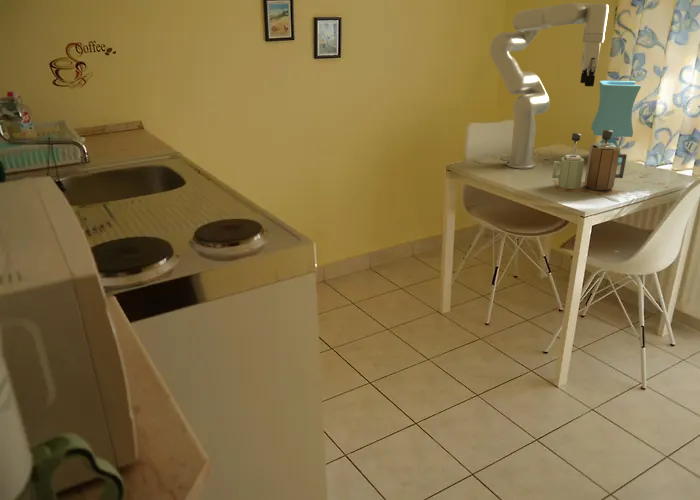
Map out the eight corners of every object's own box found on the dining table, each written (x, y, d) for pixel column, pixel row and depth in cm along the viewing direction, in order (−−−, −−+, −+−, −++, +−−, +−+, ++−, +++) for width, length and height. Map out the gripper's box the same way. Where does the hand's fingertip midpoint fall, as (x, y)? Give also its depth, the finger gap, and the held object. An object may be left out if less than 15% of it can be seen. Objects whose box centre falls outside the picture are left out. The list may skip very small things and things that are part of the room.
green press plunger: (566, 167, 223) (571, 134, 218) (564, 164, 227) (569, 132, 222) (578, 168, 222) (584, 135, 217) (577, 165, 226) (581, 132, 221)
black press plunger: (592, 184, 223) (601, 132, 214) (589, 180, 228) (597, 128, 220) (608, 185, 222) (618, 132, 213) (605, 181, 227) (614, 129, 219)
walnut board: (557, 193, 223) (558, 190, 222) (553, 183, 235) (553, 180, 235) (618, 196, 219) (618, 193, 218) (610, 186, 231) (610, 183, 231)
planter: (627, 165, 260) (641, 85, 246) (590, 163, 264) (602, 84, 250) (621, 157, 274) (635, 81, 260) (586, 155, 277) (598, 80, 264)
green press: (552, 188, 225) (556, 158, 220) (550, 182, 232) (553, 153, 228) (581, 189, 223) (585, 159, 218) (577, 183, 230) (582, 154, 226)
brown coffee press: (587, 190, 222) (594, 147, 215) (582, 183, 231) (589, 141, 224) (623, 192, 220) (631, 148, 213) (617, 184, 229) (624, 142, 222)
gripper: (579, 37, 228) (573, 81, 235) (587, 39, 213) (580, 87, 219) (599, 37, 227) (592, 82, 234) (608, 39, 211) (601, 87, 218)
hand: (586, 84), depth 226 cm, fingers open, 9 cm apart
